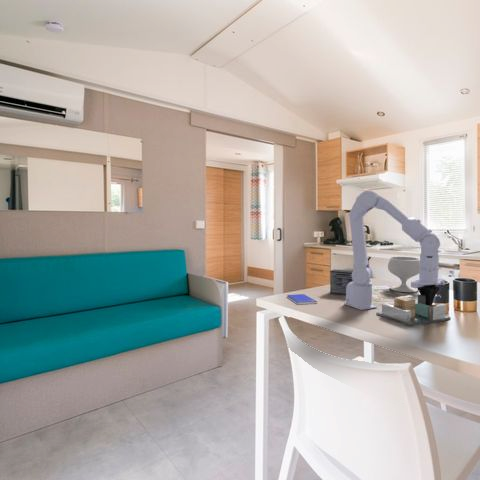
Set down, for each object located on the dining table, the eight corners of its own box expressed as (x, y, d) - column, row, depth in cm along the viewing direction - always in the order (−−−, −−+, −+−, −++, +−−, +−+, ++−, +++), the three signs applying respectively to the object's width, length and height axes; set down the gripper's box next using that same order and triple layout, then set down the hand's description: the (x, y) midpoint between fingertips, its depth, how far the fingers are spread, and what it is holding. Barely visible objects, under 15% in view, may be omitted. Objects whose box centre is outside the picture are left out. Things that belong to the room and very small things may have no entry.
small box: (357, 293, 147) (357, 270, 146) (353, 296, 142) (354, 272, 141) (333, 290, 153) (334, 268, 152) (329, 293, 147) (329, 270, 147)
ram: (402, 309, 117) (402, 293, 117) (411, 308, 119) (411, 292, 119) (427, 317, 108) (428, 299, 108) (436, 315, 110) (437, 298, 109)
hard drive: (317, 300, 131) (304, 293, 143) (298, 302, 129) (286, 294, 141) (317, 304, 131) (304, 297, 143) (298, 305, 129) (286, 298, 141)
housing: (393, 315, 112) (394, 297, 112) (403, 313, 114) (404, 296, 113) (404, 318, 108) (405, 300, 108) (414, 317, 110) (415, 299, 109)
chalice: (401, 294, 144) (402, 260, 143) (380, 287, 158) (381, 257, 157) (427, 292, 148) (429, 259, 147) (405, 286, 161) (406, 256, 160)
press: (376, 314, 116) (376, 299, 115) (414, 308, 123) (414, 294, 122) (410, 326, 103) (410, 310, 102) (450, 319, 110) (451, 303, 109)
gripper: (424, 271, 108) (422, 311, 109) (454, 268, 113) (452, 306, 114) (406, 268, 114) (405, 306, 115) (435, 265, 120) (433, 302, 121)
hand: (427, 306), depth 115 cm, fingers closed
